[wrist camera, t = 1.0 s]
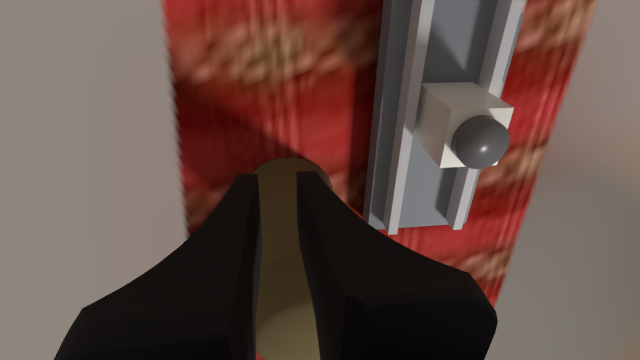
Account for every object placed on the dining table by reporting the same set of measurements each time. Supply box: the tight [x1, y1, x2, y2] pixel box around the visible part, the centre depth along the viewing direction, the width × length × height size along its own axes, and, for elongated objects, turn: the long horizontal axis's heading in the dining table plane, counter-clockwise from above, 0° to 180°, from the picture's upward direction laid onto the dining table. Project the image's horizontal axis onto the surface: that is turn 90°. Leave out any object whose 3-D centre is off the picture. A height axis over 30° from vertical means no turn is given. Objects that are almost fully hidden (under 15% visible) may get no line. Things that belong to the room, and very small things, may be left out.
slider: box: [413, 82, 514, 169], centre depth 19 cm, size 3×3×5 cm
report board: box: [363, 0, 528, 235], centre depth 21 cm, size 18×7×4 cm, turn 178°
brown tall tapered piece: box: [251, 157, 333, 360], centre depth 20 cm, size 6×6×11 cm
